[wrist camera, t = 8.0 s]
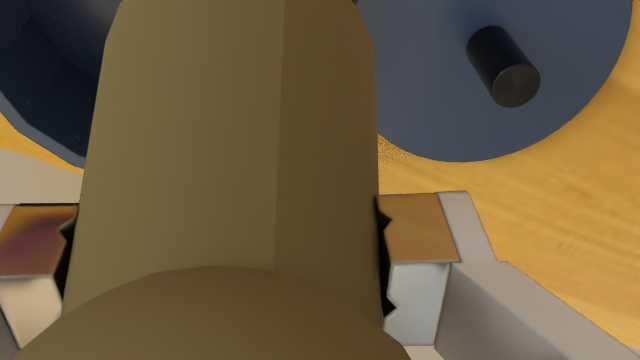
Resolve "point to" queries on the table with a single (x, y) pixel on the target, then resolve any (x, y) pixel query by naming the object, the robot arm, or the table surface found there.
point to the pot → (53, 70)
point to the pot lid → (487, 70)
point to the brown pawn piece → (228, 190)
